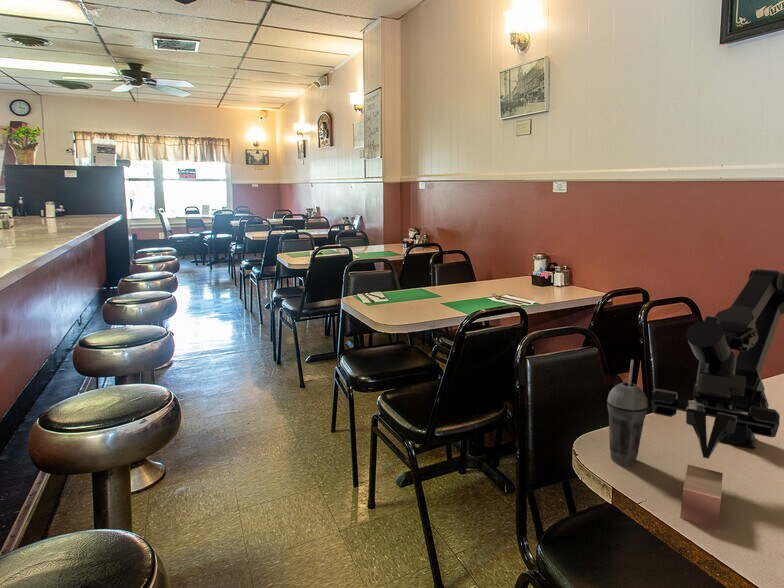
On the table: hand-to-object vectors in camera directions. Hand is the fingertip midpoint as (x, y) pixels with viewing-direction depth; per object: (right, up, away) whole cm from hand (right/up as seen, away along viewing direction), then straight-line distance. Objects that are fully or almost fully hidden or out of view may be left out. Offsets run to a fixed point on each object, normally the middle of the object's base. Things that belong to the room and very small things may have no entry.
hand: (705, 457), depth 84 cm
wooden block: (0, -4, 0) cm, 4 cm away
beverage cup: (-8, -5, +13) cm, 16 cm away
